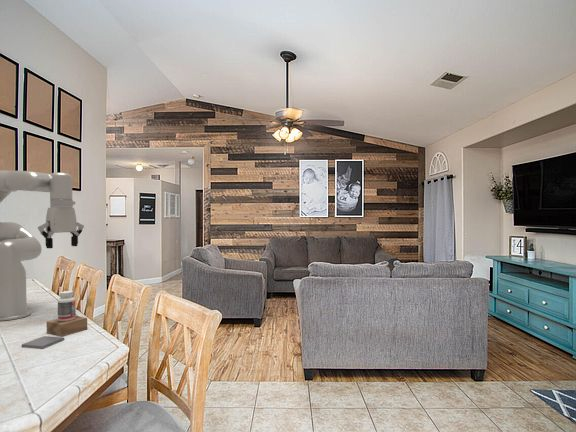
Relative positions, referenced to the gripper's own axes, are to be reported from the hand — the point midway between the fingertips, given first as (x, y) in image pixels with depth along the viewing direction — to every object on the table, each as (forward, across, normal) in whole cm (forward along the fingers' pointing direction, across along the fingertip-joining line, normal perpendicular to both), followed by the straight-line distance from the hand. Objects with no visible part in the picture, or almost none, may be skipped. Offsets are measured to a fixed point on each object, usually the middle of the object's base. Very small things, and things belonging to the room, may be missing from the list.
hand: (62, 247), depth 146 cm
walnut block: (+28, +9, +18) cm, 35 cm away
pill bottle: (+24, +9, +18) cm, 32 cm away
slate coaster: (+28, +20, +24) cm, 42 cm away
